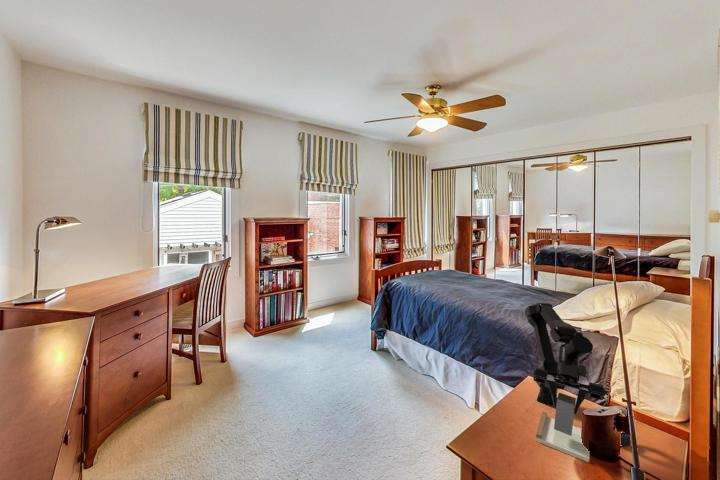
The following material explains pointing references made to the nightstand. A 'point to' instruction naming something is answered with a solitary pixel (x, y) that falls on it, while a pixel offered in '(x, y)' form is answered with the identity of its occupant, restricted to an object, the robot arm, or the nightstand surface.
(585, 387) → the robot arm
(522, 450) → the nightstand surface
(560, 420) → the block
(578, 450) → the door panel
